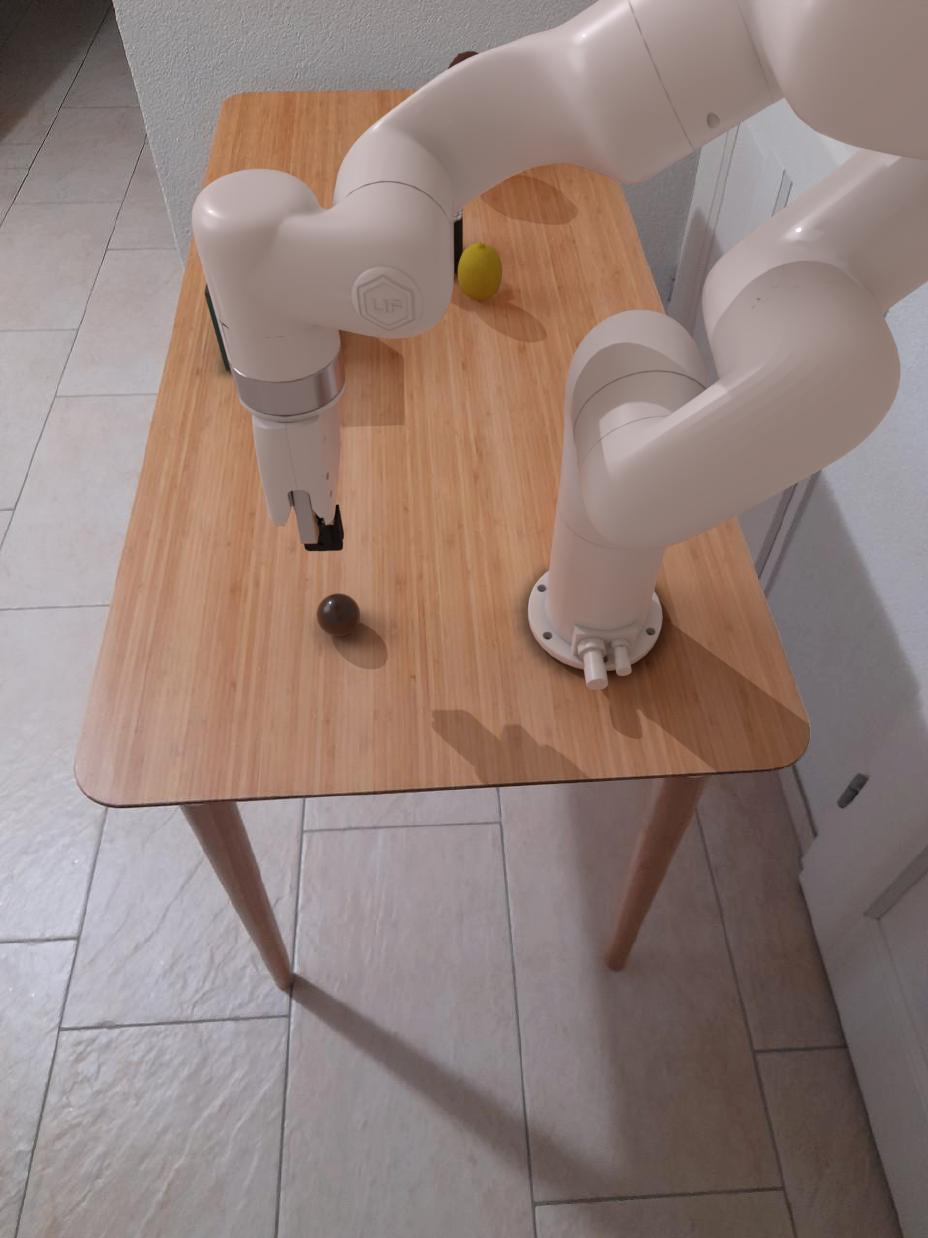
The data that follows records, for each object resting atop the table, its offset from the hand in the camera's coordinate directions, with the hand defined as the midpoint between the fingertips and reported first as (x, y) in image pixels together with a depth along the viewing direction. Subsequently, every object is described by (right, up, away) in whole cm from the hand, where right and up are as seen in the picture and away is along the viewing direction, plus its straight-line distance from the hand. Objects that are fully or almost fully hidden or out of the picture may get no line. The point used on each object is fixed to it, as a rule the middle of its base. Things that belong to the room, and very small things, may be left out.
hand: (325, 543), depth 75 cm
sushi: (+7, +41, +43) cm, 60 cm away
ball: (0, -6, +7) cm, 9 cm away
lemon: (+14, +34, +38) cm, 53 cm away
